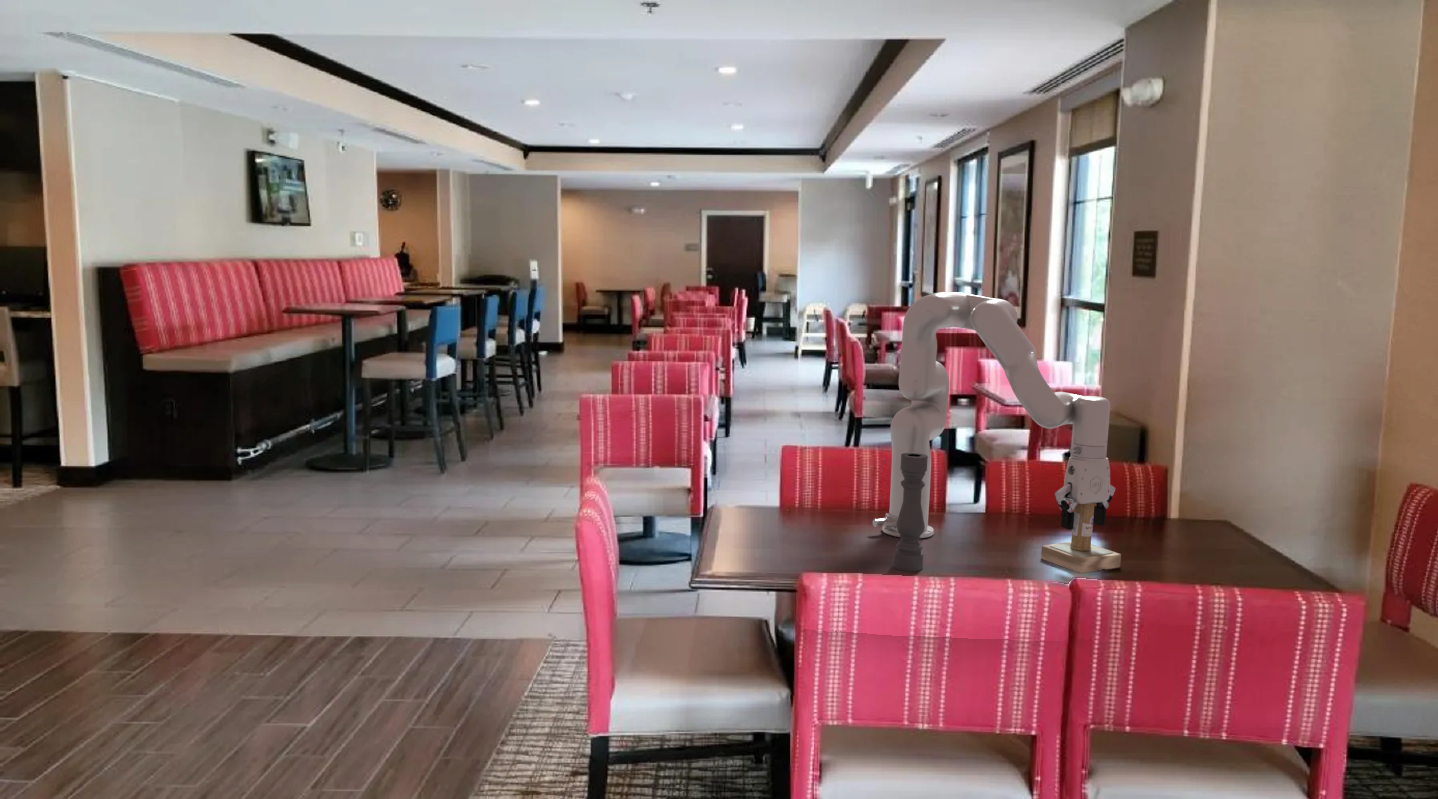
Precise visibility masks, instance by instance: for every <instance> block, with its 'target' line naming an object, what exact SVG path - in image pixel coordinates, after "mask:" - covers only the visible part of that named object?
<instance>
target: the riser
mask: <svg viewBox="0 0 1438 799" xmlns="http://www.w3.org/2000/svg"><path fill="white" fill-rule="evenodd" d="M1070 545H1071V541H1067V542H1061V543H1059V542H1058V543H1052V544H1044V545H1041V552H1040V553H1041V554H1040V555H1041V556H1040V559H1041V560H1044V561H1047V562H1049V563H1052V564H1055V565H1058V566H1061V567H1063V568H1066V569H1068V570H1071V571H1074V572H1077V573H1079V574H1084V573H1091V572H1096V571H1097V570H1099V571H1103V570H1102V569H1105V570H1112V569H1118V568H1121V560H1122V554H1121V553H1118V552H1116V551H1112V550H1110V549H1107V548H1105V547H1100V546H1098V545H1094V544H1092V543H1091V550H1089V551H1079V550H1074V549H1072V548H1071V547H1070ZM1100 569H1101V570H1100ZM1097 572H1098V571H1097Z"/></svg>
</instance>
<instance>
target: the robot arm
mask: <svg viewBox="0 0 1438 799" xmlns="http://www.w3.org/2000/svg"><path fill="white" fill-rule="evenodd" d="M1018 318H1019V316H1018V311H1017V309H1016V308H1015V307H1014V305H1013V304H1012V303H1011V302H1009V301H1008V300H1005V299H1001V298H996V297H995V298H993V297H986V296H982V295H975V294H971V293H970V294H969V293H965V292H957V291H952V292H951V291H950V292H949V291H948V292H946V291H940V292H933V293H930V294H926V295H924V296H922V297H920V298H919V299H917V300H915V301H914V302H913V303H912V304H910V307H908V309H907V310H906V313H905V316H904V318H903V323H902V333H901V334H902V335H901V348H900V356H899V357H900V360H899V373H898V388H899V392H900V394H901V396H903V398H904V399H907V400H909V401H911V402H910V403H911V405H908V406H906V407H903V408H901V409H900V410H898V411H897V412H896V413H895V415H894V416H893V417H892V419H891V423H890V429H889V430H890V440H891V474H890V494H889V512H888V513H887V512H886V513H885V516H884V517H882V518H874V519H873V520H872V526H873V527H874V528H880V527H881V528H882V529H881V530H882V532H883V533H884V534H886V535H889V536H893V537H896V538H897V537H898V538H900V534H899V532H898V530H897V526H896V525H897V520H898V517H899V513H900V510H901V506H902V503H903V491H904V488H903V486H901V481H903V480H904V477H903V474H902V470H901V469H900V468H901V454H903V453H919V454H924V455H927V456H928V459H927V471H926V472H925V475H924V477H923V479H922V481H923V482H924V483H925V487H923V488H922V490H921V507H922V513H923V518H924V524H925V529H924V532H923V533H922V534H921V535H920V539H925V538H930V537H932V536H934V534H935V529H934V528H933V527H932V526H931V525H928V524H929V511H930V510H929V507H930V494H931V493H930V491H931V477H932V476H931V473H932V472H931V470H932V455H931V446H930V441H932V440H934V439H936V438H938V437H939V436H940V435H942V433H943V431H944V430H945V428H946V424H947V418H948V404H949V391H950V378H949V373H948V371H947V369H946V367H945V366H944V365H943V364H942V363H941V362H940V361H937V353H938V339H937V332H938V330H940V329H945V328H946V329H947V328H949V329H950V328H959V329H960V328H961V329H965V330H969V331H975V332H976V334H977V335H978V337H979V338H980V339H981V341H982V342H983V343H984V345H985V346H986V347H987V348H988V350H989V351H990V352H991V354H992V356H993V357H994V358H995V360H996V361H997V363H998V364H999V365H1000V367H1001V368H1002V369H1003V371H1004V374H1005V376H1006V380H1007V381H1008V383H1009V385H1010V388H1011V390H1012V391H1013V394H1014V395H1015V398H1016V400H1018V402H1019V403H1020V405H1021V406H1022V407H1023V408H1024V410H1025V412H1026V413H1027V414H1028V415H1029V416H1030V418H1031V419H1032V420H1033V421H1034V422H1035V423H1036V424H1037V425H1038V426H1040V427H1042V428H1044V429H1049V430H1050V429H1056V428H1058V427H1061V426H1065V425H1072V432H1071V434H1072V435H1071V443H1070V444H1071V445H1070V448H1069V453H1070V456H1069V457H1068V461H1067V463H1066V464H1067V465H1066V470H1065V474H1064V475H1065V476H1064V483H1063V486H1062V487H1060V488H1059V489H1057V491H1055V493H1054V496H1055V499H1056V504H1057V506H1058V507H1059V510H1061V519H1060V527H1061V528H1064V529H1066V530H1070V531H1072V530H1073V527H1074V508H1075V506H1076V505H1077V503H1079V504H1090V503H1095V504H1094V515H1093V516H1094V518H1093V524H1096V525H1098V526H1102V527H1103V526H1105V525H1106V519H1107V509H1108V508H1109V507H1110V506H1109V504H1110V503H1111V501H1112V500H1113V496H1114V494H1115V491H1116V487H1115V486H1114V485H1112V484H1111V467H1110V460H1109V458H1108V457H1107V452H1108V451H1107V450H1108V437H1109V428H1110V425H1109V424H1110V413H1111V401H1110V400H1109V399H1108V398H1105V397H1102V396H1095V395H1079V394H1074V393H1070V392H1065V391H1056V392H1054V391H1053V389H1052V388H1051V387H1050V385H1049V383H1048V382H1047V381H1046V380H1045V378H1044V377H1043V375H1042V373H1041V370H1040V369H1039V368H1040V367H1039V364H1038V353H1037V348H1036V347H1035V346H1034V344H1033V342H1031V340H1030V339H1029V338H1028V336H1027V335H1026V334H1025V332H1024V331H1023V330H1022V329H1021V327H1020V326H1019V324H1018V320H1019V319H1018Z"/></svg>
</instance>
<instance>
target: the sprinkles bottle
mask: <svg viewBox="0 0 1438 799" xmlns="http://www.w3.org/2000/svg"><path fill="white" fill-rule="evenodd" d="M1095 505H1096V504H1095V503H1090V504H1079V503H1077V505H1076V506H1075V508H1074V509H1073V512H1074V527H1073V530H1071V540H1070V542H1071V545H1070V547H1071V548H1072V549H1074V550H1079V551H1089V550H1091V544H1092V537H1093V526H1094V523H1093V518H1094V516H1093V515H1094V506H1095Z"/></svg>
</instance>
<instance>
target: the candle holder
mask: <svg viewBox="0 0 1438 799" xmlns="http://www.w3.org/2000/svg"><path fill="white" fill-rule="evenodd" d="M927 459H928V456H927V455H924V454H919V453H903V454H901V468H900V469H901V470H902V474H903V477H904V480H903V481H901V486H903V488H904V491H903V503H902V506H901V510H900V513H899V517H898V520H897V525H896V526H897V530H898V532H899V534H900V537H899V538H900V539H899V540H898V542H896V549H895V551H894V564H893V565H894V568H895V569H897V570H899V571H902V572H904V571H905V572H920V571H921V570H923V569H924V566H923V565H924V552H923V551H922V550H923V549H924V548H923V545H922V544H921V542H920V539H921V538H920V535H921V534H922V533H923V532H924V529H925V524H924V518H923V513H922V507H921V490H922V488H923V487H925V483H924V482H923V481H922V479H923V477H924V475H925V472H926V471H927Z"/></svg>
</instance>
